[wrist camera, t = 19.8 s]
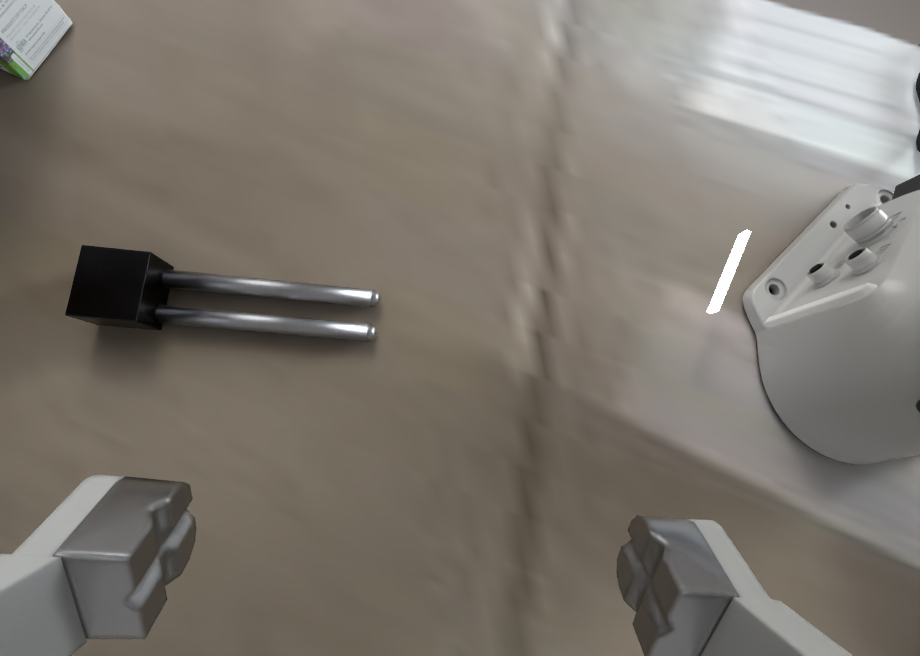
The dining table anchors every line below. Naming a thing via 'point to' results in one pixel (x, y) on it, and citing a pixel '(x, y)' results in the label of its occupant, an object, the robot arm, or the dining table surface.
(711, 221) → the dining table surface
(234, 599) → the dining table surface
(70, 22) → the syrup box
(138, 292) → the twin chrome rods
